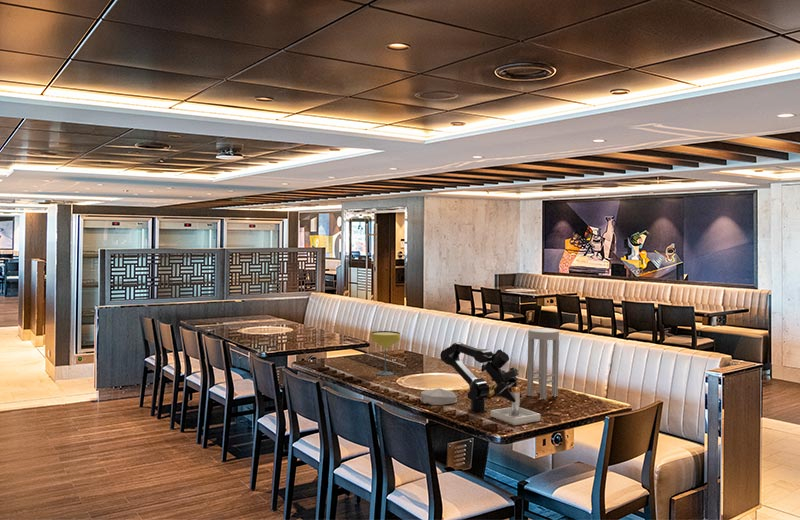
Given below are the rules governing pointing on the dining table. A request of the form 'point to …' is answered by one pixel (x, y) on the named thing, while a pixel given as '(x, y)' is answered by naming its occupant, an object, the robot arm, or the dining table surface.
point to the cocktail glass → (385, 343)
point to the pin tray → (526, 417)
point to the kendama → (492, 390)
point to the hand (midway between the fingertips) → (518, 399)
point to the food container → (438, 397)
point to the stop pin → (515, 403)
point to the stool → (543, 361)
